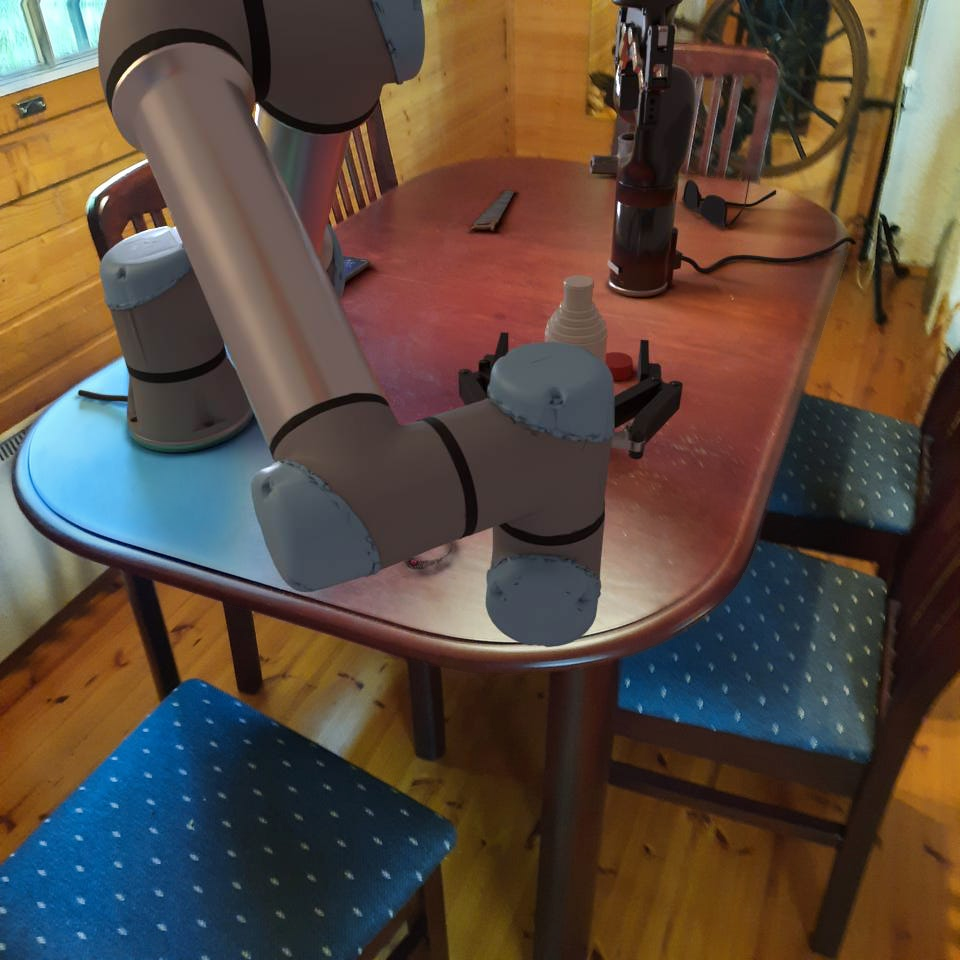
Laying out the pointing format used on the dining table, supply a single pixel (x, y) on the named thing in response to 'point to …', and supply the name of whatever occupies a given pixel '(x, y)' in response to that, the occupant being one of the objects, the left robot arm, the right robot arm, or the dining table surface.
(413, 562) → the ring
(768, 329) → the dining table surface
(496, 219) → the grey flat bar
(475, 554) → the dining table surface
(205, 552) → the dining table surface
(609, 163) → the pipe
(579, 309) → the bottle
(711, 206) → the sunglasses
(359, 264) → the smartphone
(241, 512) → the dining table surface
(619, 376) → the cap
